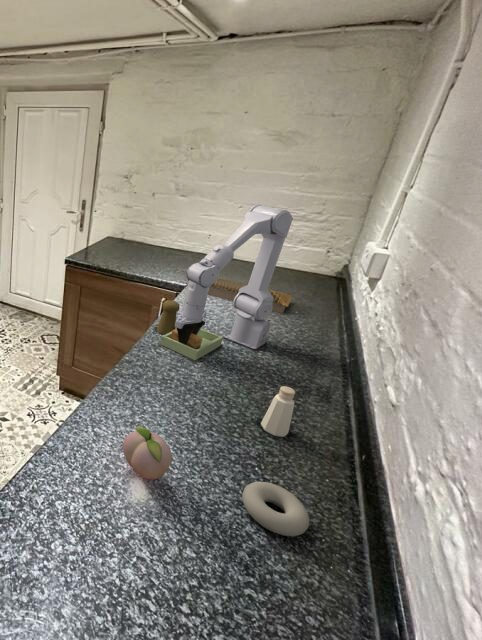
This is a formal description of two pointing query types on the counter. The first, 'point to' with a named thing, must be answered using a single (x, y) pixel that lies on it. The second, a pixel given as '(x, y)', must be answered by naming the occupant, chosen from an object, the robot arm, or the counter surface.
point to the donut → (276, 522)
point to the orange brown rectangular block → (193, 339)
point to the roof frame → (236, 286)
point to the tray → (207, 345)
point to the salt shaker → (279, 413)
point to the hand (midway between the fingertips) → (185, 342)
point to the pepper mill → (168, 317)
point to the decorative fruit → (147, 453)
